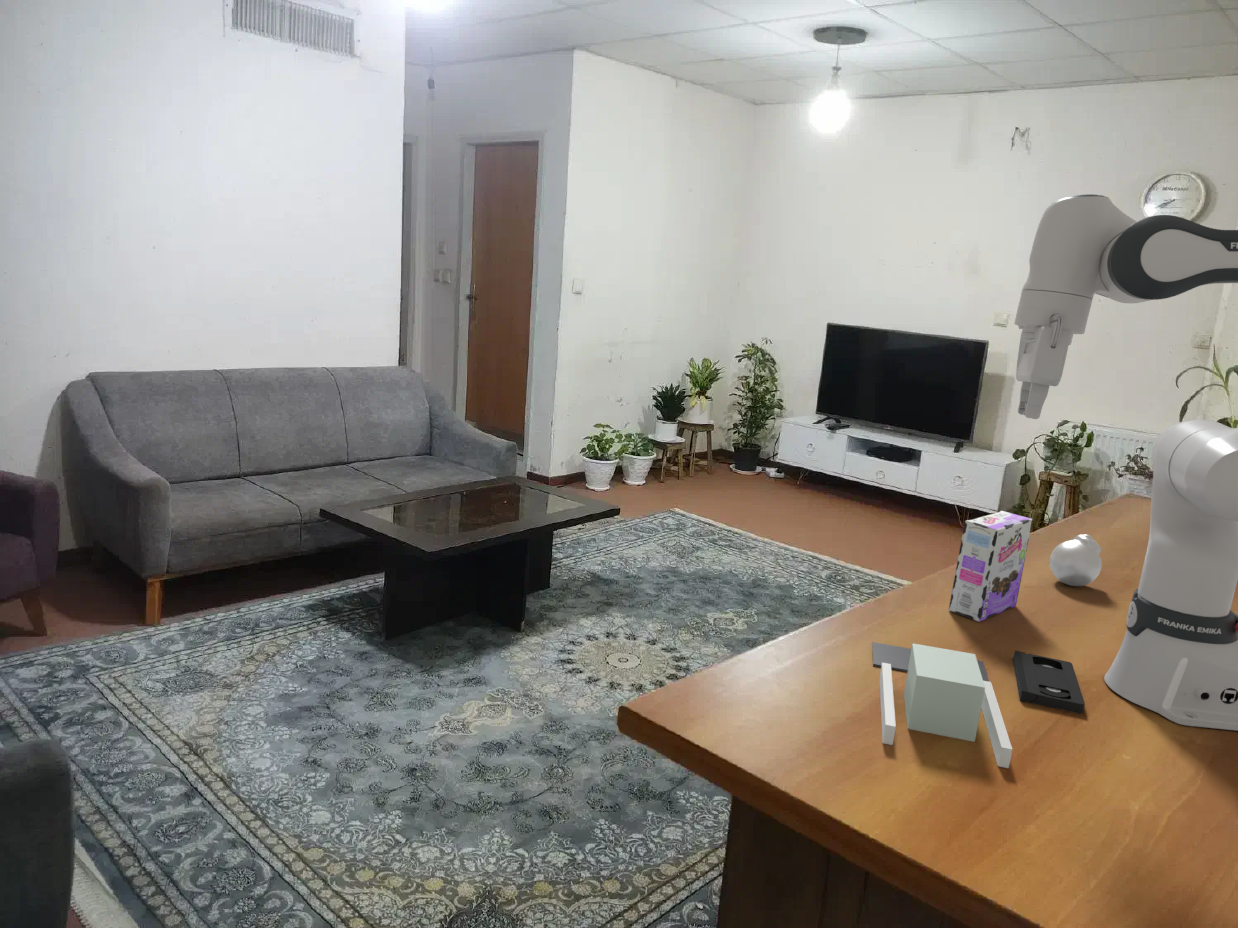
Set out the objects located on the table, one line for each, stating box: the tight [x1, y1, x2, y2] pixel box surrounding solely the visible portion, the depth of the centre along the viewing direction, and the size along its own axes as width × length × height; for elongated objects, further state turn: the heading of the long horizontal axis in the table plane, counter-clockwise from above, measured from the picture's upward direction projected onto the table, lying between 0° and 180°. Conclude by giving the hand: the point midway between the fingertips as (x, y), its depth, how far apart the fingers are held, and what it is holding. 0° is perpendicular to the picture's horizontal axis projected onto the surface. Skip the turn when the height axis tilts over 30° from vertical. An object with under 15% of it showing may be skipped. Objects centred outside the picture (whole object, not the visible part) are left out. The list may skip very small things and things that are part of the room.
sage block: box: [903, 642, 985, 742], centre depth 115 cm, size 8×10×8 cm
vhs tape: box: [1012, 650, 1086, 715], centre depth 127 cm, size 14×8×2 cm, turn 160°
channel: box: [871, 641, 1013, 769], centre depth 120 cm, size 16×30×2 cm, turn 165°
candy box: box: [948, 510, 1033, 622], centre depth 153 cm, size 14×6×16 cm, turn 131°
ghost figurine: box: [1049, 533, 1103, 587], centre depth 170 cm, size 9×10×10 cm
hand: (1027, 416), depth 123 cm, fingers open, 8 cm apart
